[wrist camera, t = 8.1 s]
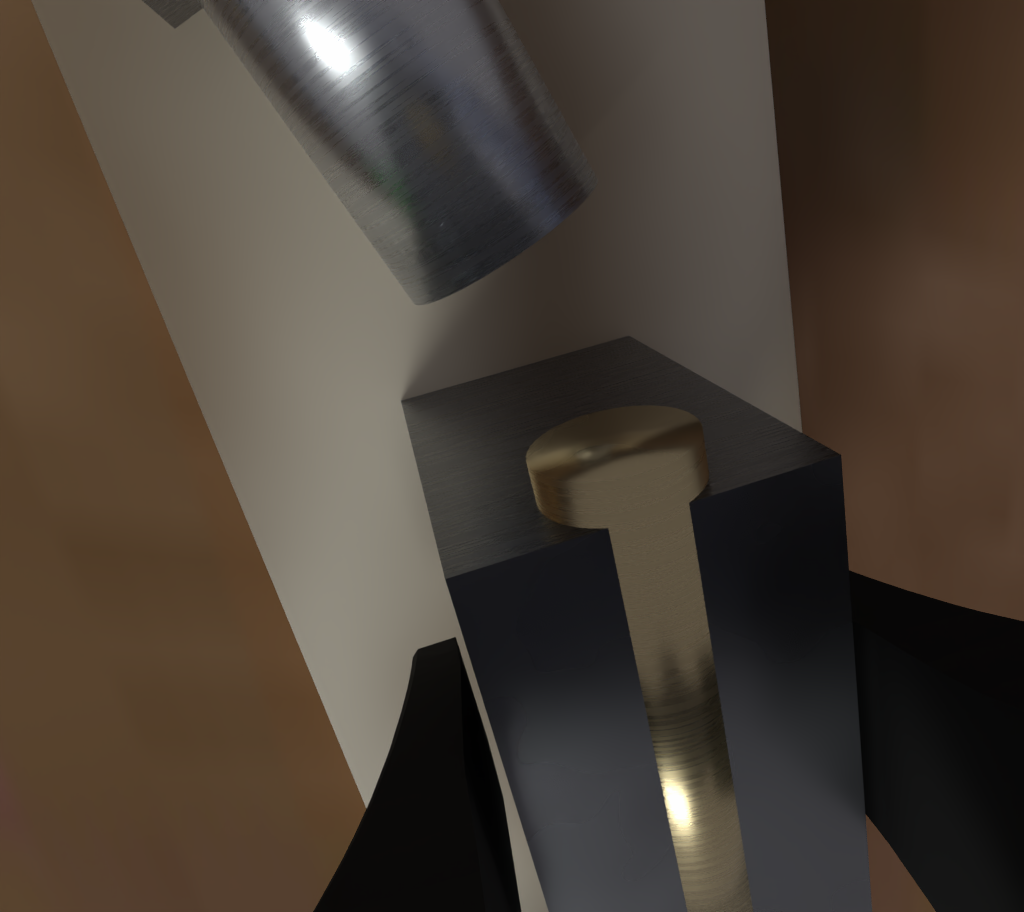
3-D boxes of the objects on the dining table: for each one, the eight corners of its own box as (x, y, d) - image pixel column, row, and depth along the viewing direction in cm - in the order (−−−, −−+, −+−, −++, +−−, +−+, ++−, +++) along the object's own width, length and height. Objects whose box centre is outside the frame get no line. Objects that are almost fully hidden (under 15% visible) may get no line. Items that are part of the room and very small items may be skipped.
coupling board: (694, -448, 10) (721, -497, 9) (830, 930, 21) (847, 958, 20) (-79, -314, 9) (-118, -358, 8) (481, 1064, 20) (486, 1098, 19)
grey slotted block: (623, 306, 13) (844, 409, 7) (695, 717, 16) (882, 1006, 11) (392, 372, 12) (432, 536, 7) (516, 779, 16) (611, 1115, 10)
